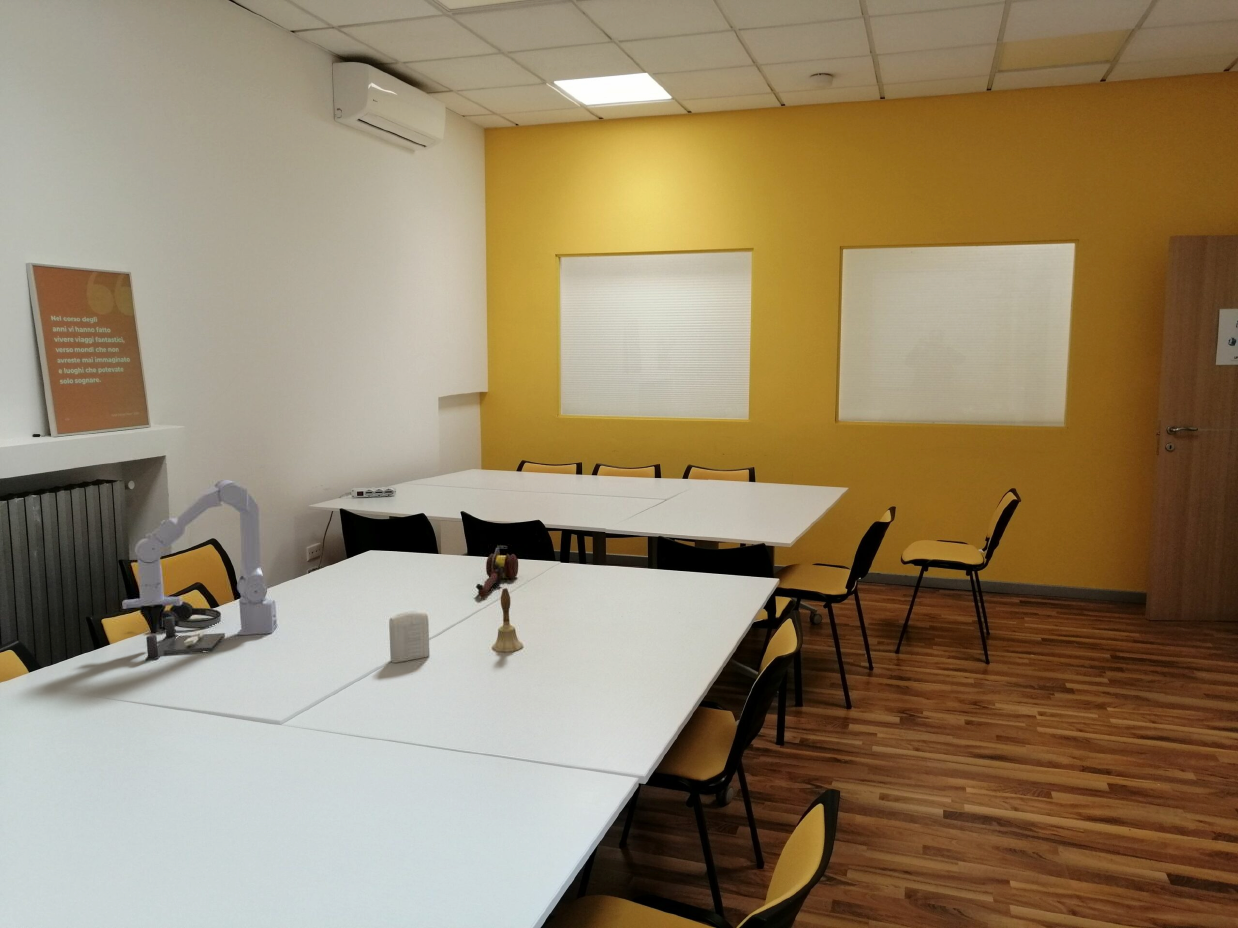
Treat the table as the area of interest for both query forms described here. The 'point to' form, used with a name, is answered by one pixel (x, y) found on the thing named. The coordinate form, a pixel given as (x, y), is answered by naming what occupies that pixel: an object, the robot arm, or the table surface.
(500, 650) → the hand bell
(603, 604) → the table surface
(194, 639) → the paddle
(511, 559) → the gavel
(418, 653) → the engraved stone tablet
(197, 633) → the paddle
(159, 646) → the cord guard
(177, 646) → the switch panel
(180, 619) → the headset
